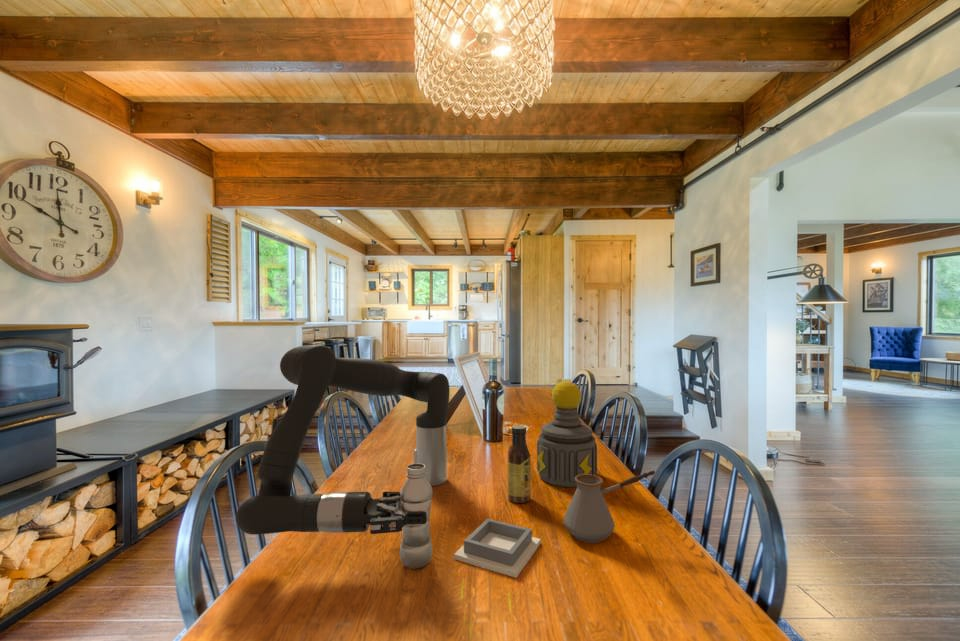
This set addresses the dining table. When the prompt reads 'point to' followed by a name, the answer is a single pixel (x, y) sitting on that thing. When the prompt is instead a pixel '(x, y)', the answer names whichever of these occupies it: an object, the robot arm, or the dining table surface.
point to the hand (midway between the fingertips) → (427, 509)
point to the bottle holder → (499, 547)
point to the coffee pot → (593, 508)
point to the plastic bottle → (416, 536)
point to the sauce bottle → (518, 467)
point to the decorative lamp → (566, 441)
